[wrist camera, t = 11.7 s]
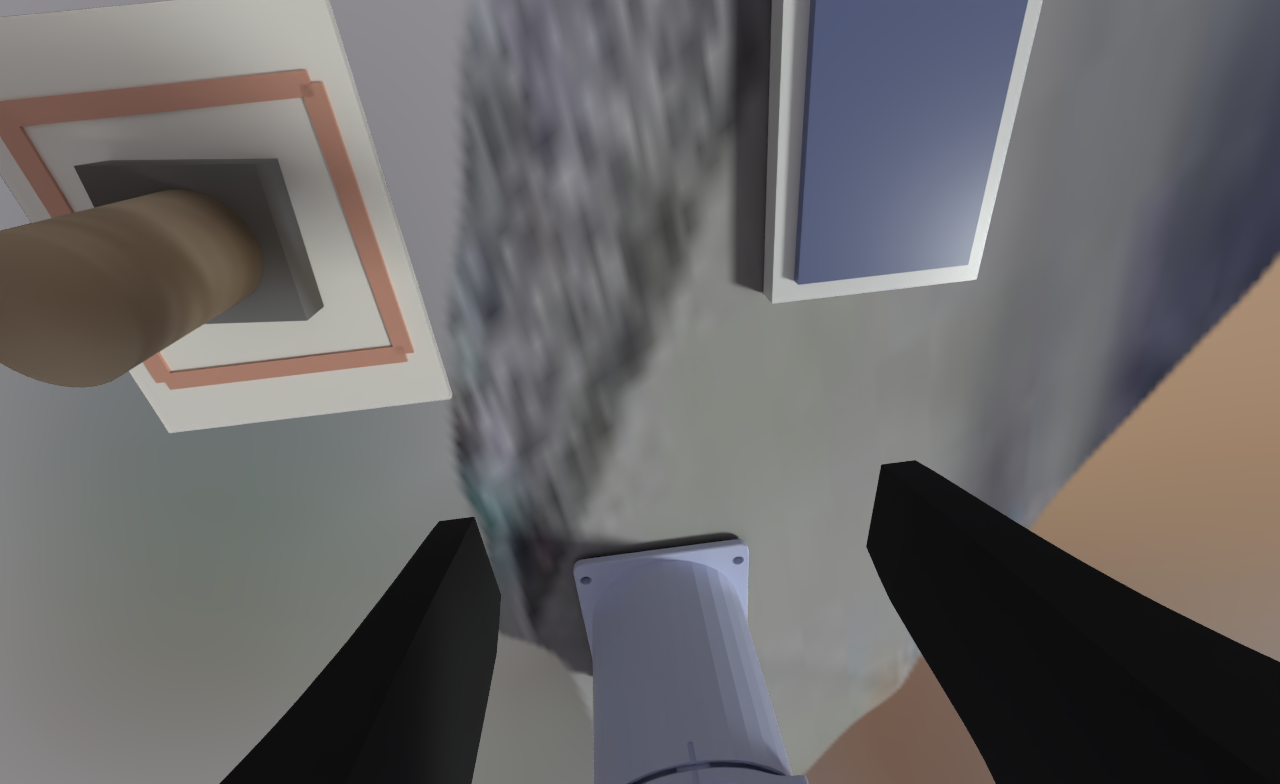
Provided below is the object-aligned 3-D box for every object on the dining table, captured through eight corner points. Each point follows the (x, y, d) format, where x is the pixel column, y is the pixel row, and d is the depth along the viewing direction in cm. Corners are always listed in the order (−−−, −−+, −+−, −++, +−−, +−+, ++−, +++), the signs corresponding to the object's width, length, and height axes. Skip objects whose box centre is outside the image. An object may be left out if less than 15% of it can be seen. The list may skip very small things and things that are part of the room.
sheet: (452, 394, 19) (450, 400, 19) (174, 428, 19) (167, 434, 19) (325, -13, 13) (318, -15, 13) (-84, 27, 13) (-102, 26, 13)
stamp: (324, 306, 17) (204, 406, 12) (179, 310, 17) (-11, 416, 11) (277, 158, 15) (104, 198, 10) (110, 160, 15) (-167, 203, 9)
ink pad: (958, 270, 19) (984, 283, 18) (763, 293, 19) (775, 308, 17) (1029, -57, 14) (1071, -70, 13) (772, -32, 14) (790, -43, 13)
